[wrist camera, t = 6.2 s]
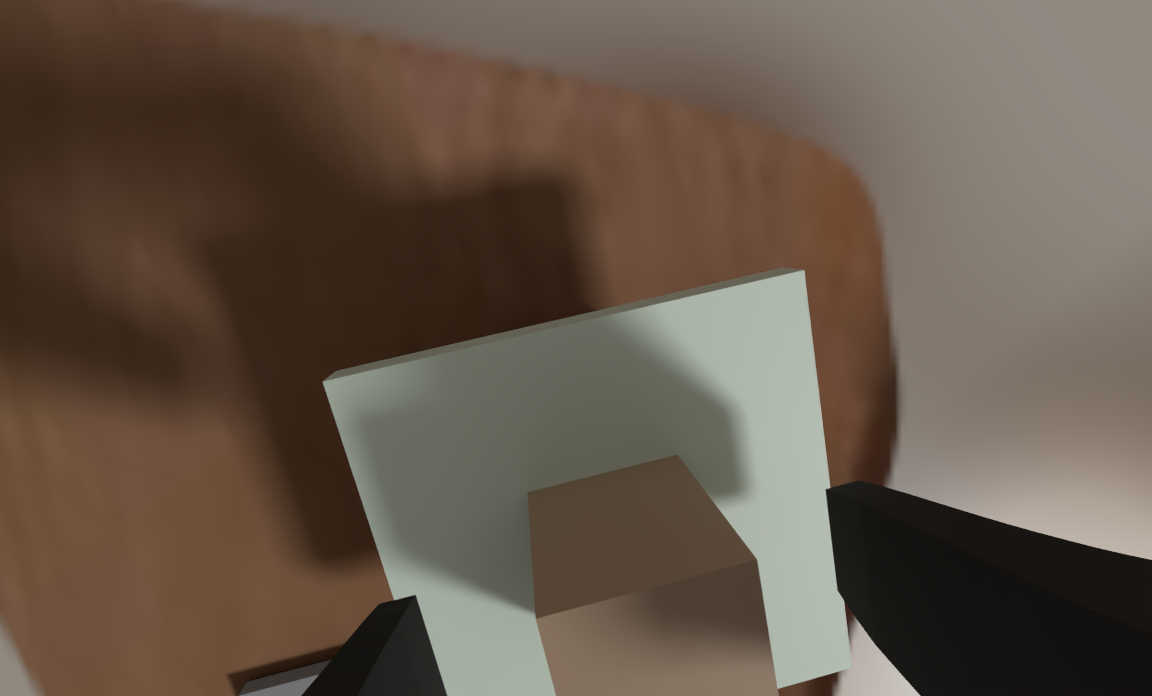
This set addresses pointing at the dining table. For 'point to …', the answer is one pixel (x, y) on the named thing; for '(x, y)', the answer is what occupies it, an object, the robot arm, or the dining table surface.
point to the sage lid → (610, 497)
